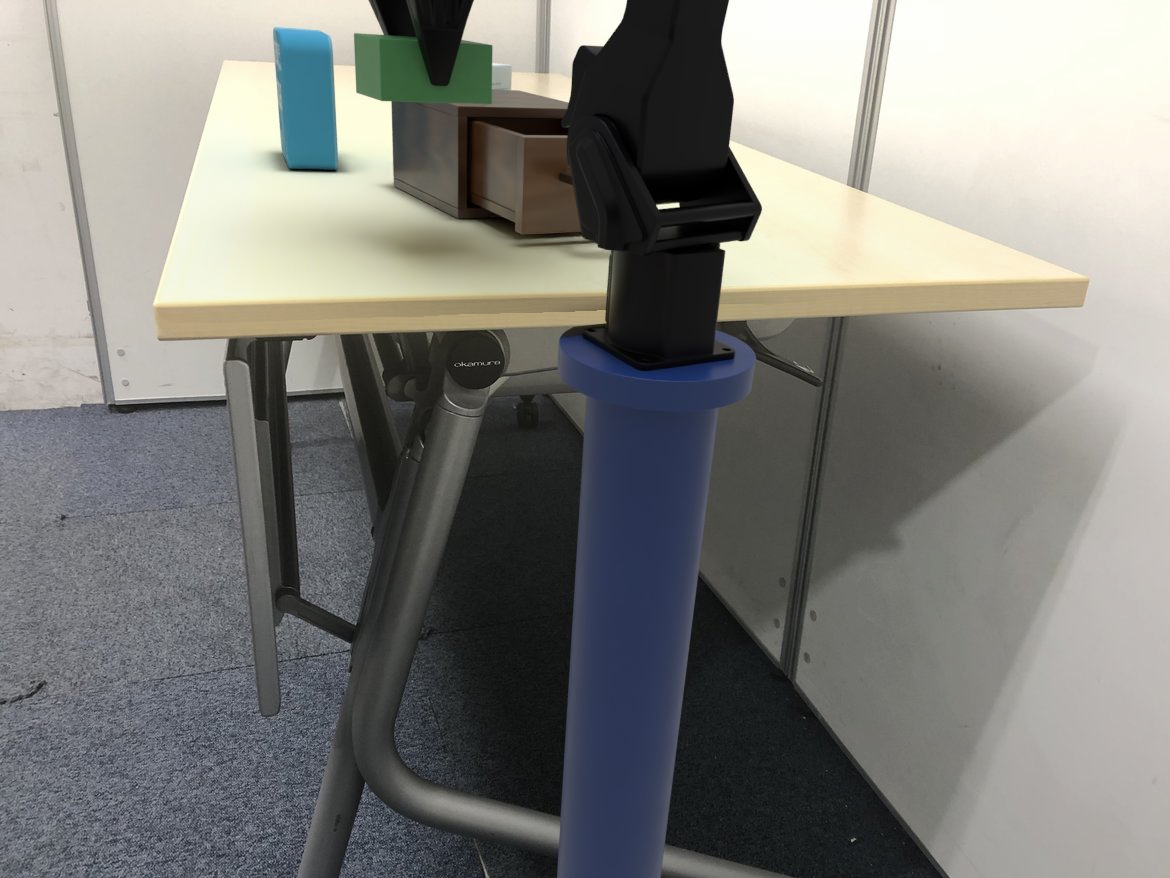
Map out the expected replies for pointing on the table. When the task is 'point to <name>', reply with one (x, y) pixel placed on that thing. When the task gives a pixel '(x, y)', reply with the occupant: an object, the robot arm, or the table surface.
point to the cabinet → (451, 145)
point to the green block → (419, 71)
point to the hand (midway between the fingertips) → (424, 81)
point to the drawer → (522, 173)
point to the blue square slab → (306, 98)
